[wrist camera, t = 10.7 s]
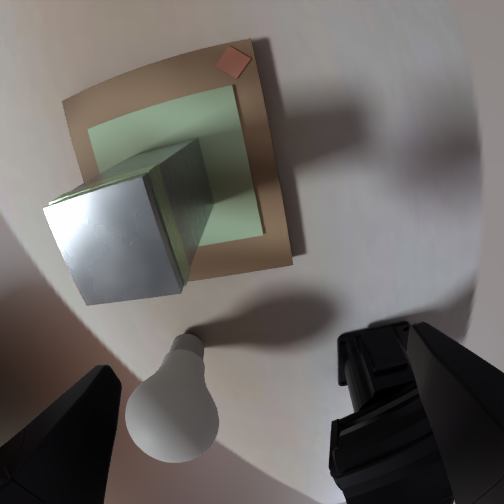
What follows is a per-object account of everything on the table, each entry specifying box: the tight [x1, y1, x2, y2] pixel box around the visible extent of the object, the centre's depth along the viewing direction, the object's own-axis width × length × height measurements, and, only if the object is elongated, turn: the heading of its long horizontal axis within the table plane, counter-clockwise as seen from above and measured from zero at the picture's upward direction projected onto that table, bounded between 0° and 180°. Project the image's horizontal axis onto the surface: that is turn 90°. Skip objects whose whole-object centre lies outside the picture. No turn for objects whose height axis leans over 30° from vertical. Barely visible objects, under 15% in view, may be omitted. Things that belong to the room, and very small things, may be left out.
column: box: [44, 138, 214, 305], centre depth 13 cm, size 4×4×9 cm
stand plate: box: [62, 39, 293, 282], centre depth 18 cm, size 14×12×1 cm
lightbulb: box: [125, 334, 219, 463], centre depth 20 cm, size 6×6×11 cm
